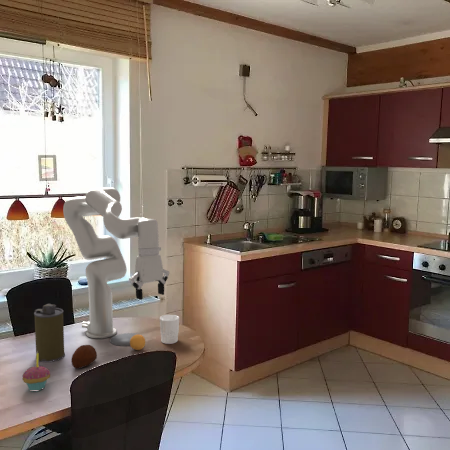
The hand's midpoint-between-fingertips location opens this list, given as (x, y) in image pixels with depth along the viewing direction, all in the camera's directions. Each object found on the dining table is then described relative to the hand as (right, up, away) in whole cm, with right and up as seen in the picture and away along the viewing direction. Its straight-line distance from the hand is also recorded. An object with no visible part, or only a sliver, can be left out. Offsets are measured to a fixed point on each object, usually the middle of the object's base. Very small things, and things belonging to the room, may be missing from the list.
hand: (150, 296), depth 191 cm
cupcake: (-33, -26, -26) cm, 50 cm away
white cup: (+5, -21, +16) cm, 27 cm away
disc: (-12, -20, +17) cm, 29 cm away
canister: (-38, -23, -1) cm, 44 cm away
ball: (-6, -19, +6) cm, 21 cm away
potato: (-22, -24, -9) cm, 34 cm away
